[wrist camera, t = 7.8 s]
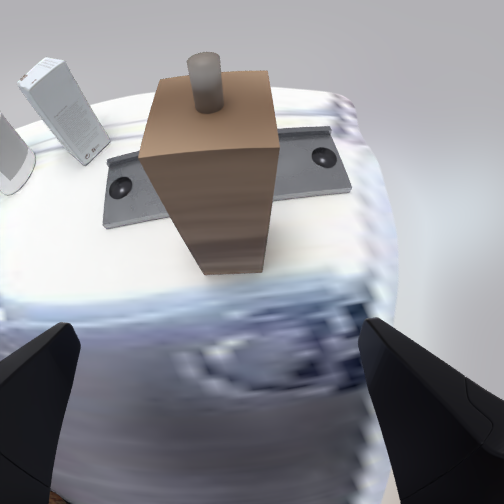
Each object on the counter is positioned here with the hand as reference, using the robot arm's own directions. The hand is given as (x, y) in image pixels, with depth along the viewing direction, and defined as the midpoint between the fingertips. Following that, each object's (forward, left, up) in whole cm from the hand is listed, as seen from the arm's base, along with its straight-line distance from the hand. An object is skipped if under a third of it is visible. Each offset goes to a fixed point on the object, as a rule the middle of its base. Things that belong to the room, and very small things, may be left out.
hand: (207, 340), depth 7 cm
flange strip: (+12, -9, -13) cm, 19 cm away
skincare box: (+27, 0, -13) cm, 30 cm away
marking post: (+6, -5, -13) cm, 15 cm away
